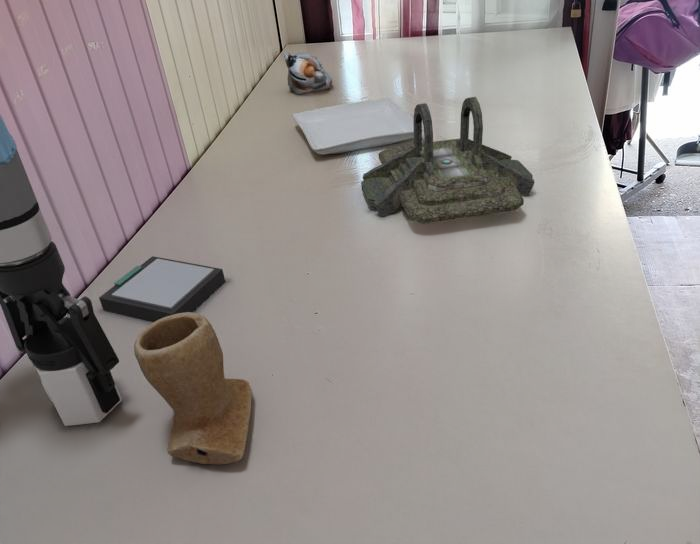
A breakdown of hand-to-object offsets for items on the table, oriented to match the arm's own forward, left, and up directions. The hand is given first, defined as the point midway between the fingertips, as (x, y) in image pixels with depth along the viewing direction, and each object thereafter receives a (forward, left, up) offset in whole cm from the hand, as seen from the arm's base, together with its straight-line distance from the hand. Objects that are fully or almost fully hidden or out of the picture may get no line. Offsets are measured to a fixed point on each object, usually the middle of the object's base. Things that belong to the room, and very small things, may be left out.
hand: (86, 398), depth 86 cm
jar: (0, 0, -1) cm, 1 cm away
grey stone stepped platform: (+26, +77, -1) cm, 81 cm away
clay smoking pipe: (+18, +2, -1) cm, 18 cm away
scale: (-7, +26, -1) cm, 27 cm away
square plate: (-6, +103, -1) cm, 103 cm away
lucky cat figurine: (-35, +135, -1) cm, 139 cm away
